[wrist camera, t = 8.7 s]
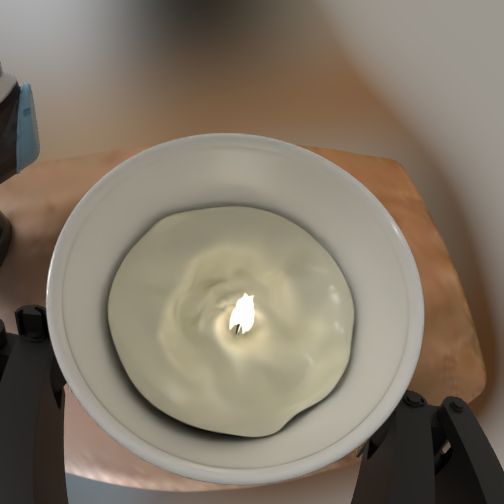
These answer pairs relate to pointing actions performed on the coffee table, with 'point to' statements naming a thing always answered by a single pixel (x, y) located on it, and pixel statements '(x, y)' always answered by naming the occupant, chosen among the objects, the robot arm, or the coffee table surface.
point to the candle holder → (234, 308)
